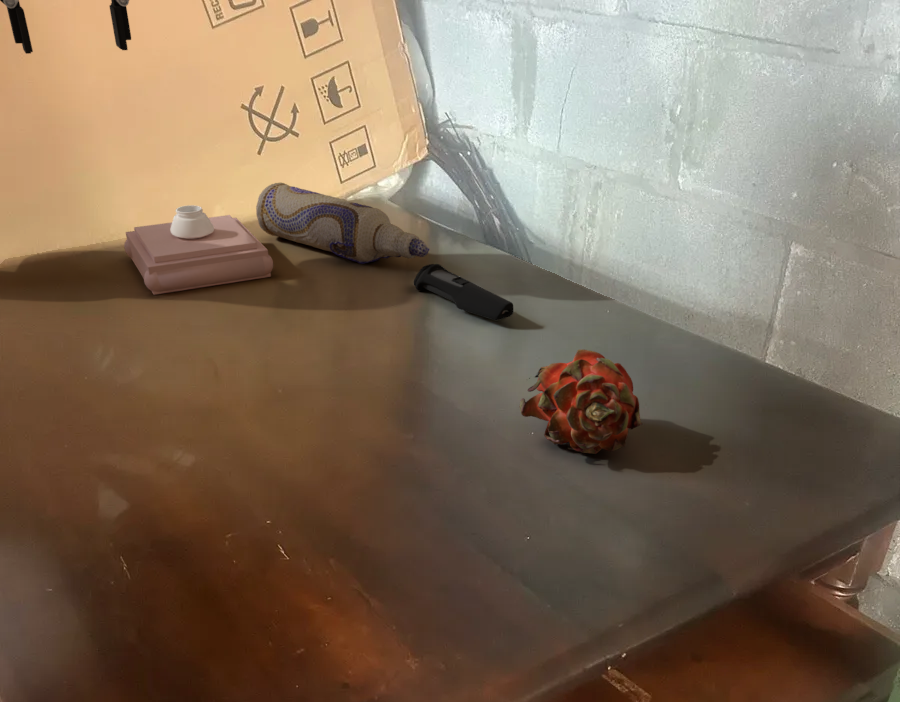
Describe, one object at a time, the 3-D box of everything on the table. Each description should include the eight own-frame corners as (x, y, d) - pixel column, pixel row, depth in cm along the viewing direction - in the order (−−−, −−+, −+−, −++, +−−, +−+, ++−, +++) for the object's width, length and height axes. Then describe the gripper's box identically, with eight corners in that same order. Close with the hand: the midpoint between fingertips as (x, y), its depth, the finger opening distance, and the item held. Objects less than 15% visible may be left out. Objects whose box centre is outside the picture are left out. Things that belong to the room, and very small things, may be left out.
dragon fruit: (613, 496, 75) (537, 450, 84) (684, 419, 74) (600, 382, 84) (561, 429, 69) (485, 388, 79) (638, 347, 69) (553, 315, 78)
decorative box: (149, 297, 104) (142, 263, 102) (125, 257, 115) (118, 225, 112) (277, 277, 109) (273, 244, 107) (243, 240, 120) (238, 209, 118)
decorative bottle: (255, 242, 120) (248, 188, 115) (296, 228, 124) (291, 176, 120) (405, 286, 107) (403, 227, 103) (445, 269, 112) (445, 212, 108)
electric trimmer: (493, 334, 97) (495, 305, 95) (410, 289, 106) (410, 262, 104) (520, 326, 99) (522, 297, 97) (436, 282, 108) (436, 255, 106)
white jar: (199, 225, 112) (163, 234, 110) (195, 200, 111) (158, 208, 108) (222, 234, 110) (186, 244, 107) (218, 208, 108) (182, 217, 105)
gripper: (121, -154, 93) (151, 42, 103) (-66, -162, 87) (-14, 47, 97) (135, -154, 87) (164, 52, 98) (-64, -162, 81) (-9, 58, 92)
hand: (75, 49), depth 98 cm, fingers open, 9 cm apart
